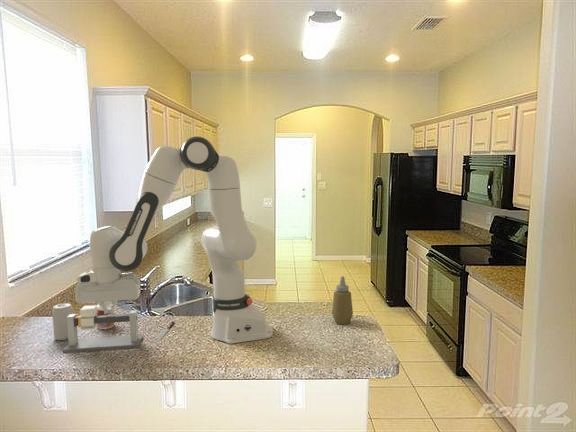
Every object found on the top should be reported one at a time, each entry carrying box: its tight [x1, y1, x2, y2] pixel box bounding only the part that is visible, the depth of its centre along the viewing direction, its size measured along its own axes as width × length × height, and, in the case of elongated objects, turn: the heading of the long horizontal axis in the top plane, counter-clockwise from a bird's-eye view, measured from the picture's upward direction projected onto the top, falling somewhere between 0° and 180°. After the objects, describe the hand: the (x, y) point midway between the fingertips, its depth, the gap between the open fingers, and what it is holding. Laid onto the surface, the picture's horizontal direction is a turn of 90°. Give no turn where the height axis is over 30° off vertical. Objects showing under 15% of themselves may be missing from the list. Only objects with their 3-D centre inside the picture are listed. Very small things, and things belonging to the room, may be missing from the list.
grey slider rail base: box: [62, 309, 144, 353], centre depth 149 cm, size 24×9×11 cm, turn 99°
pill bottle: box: [96, 301, 115, 330], centre depth 166 cm, size 6×6×11 cm
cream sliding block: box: [79, 305, 98, 331], centre depth 148 cm, size 4×5×7 cm
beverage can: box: [51, 302, 74, 341], centre depth 155 cm, size 6×6×12 cm
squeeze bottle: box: [331, 275, 354, 325], centre depth 167 cm, size 8×8×18 cm
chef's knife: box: [156, 321, 175, 342], centre depth 160 cm, size 19×1×3 cm
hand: (109, 313), depth 149 cm, fingers closed
